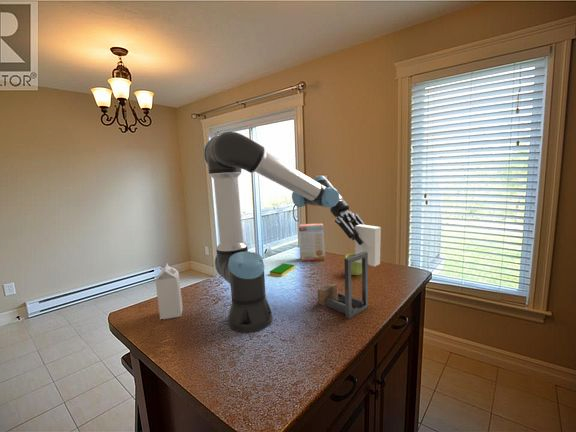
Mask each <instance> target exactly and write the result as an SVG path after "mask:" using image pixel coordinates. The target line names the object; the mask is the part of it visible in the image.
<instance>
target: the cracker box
mask: <svg viewBox="0 0 576 432" xmlns="http://www.w3.org/2000/svg"><path fill="white" fill-rule="evenodd" d="M298 233H299V235H298V236H299V238H298V239H299V255H300V262H305V261H306V262H309V261H310V262H311V261H315V262H318V261H325V260H326V259H325V235H324V234H325V232H324V224H323V223H301V224H299V225H298Z"/></svg>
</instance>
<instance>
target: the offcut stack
mask: <svg viewBox="0 0 576 432" xmlns="http://www.w3.org/2000/svg"><path fill="white" fill-rule="evenodd" d="M328 298H330V299H333V300H335V301H336V300H338V284H337V283H333V284H332V283H329V284H327V285H324V286H322V287H320V288H318V289H317V304H319V305H322V306H325V305H326V306H327V299H328Z"/></svg>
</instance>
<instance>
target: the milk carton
mask: <svg viewBox="0 0 576 432" xmlns="http://www.w3.org/2000/svg"><path fill="white" fill-rule="evenodd" d="M180 281H181V280H180V274H179V271H178V270H177V268H175V267H172V266H169V263H167V262H166V265H165V267H164V269H162V271H161V272H160V273H158V275H157V277H156V279H155V281H154V282H155V288H156V295H157V305H158V312H159V320H160V321H161V319H163V320H167V319H172V318H173V319H174V318H179V317H182V312H183V309H184V308H183V299H182V291H181V282H180Z"/></svg>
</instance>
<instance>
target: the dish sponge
mask: <svg viewBox="0 0 576 432" xmlns="http://www.w3.org/2000/svg"><path fill="white" fill-rule="evenodd" d="M294 269H295V264H290V263H281V264H280V265H278V266H276V267H273V269H270V271H269V275H270V276H274V277H280V278H282V277H284V276H285V275H287V274H288V273H289V272H291V271H292V270H294Z"/></svg>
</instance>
